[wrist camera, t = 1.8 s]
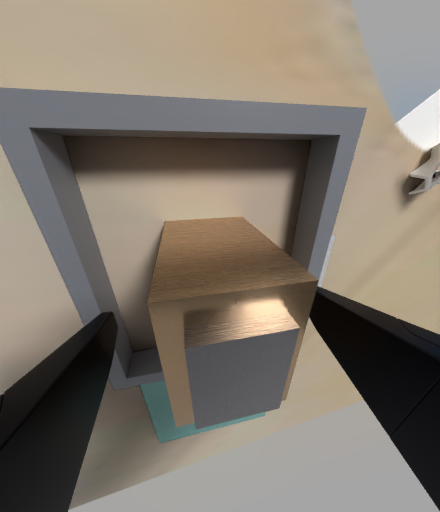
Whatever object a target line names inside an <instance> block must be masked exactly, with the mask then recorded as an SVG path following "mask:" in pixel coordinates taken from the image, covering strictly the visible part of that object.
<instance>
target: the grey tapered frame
mask: <svg viewBox="0 0 440 512" xmlns="http://www.w3.org/2000/svg"><path fill="white" fill-rule="evenodd" d="M366 109H367V108H358V107H340V106H322V105H304V104H286V103H268V102H250V101H232V100H214V99H196V98H178V97H160V96H142V95H124V94H106V93H88V92H70V91H52V90H34V89H16V88H0V143H1V145H2V147H3V150H4V152H5V154H6V156H7V158H8V160H9V163H10V165H11V167H12V169H13V171H14V174H15V176H16V178H17V180H18V182H19V184H20V187H21V189H22V191H23V193H24V195H25V197H26V200H27V202H28V204H29V206H30V208H31V211H32V213H33V215H34V217H35V219H36V221H37V224H38V226H39V228H40V230H41V232H42V234H43V237H44V239H45V241H46V243H47V245H48V248H49V250H50V252H51V254H52V256H53V258H54V261H55V263H56V265H57V267H58V269H59V271H60V274H61V276H62V278H63V280H64V282H65V285H66V287H67V289H68V291H69V293H70V295H71V298H72V300H73V302H74V304H75V306H76V308H77V311H78V313H79V315H80V317H81V319H82V322H83V324H84V326H86V325H87V324H88V323H89V322H90V321H92V320H93V319H94V318H95V317H97V316H98V315H99V314H100V313H102V312H108V311H112V312H113V313H114V315H115V318H116V321H117V324H118V334H117V339H116V345H115V350H114V355H113V361H112V366H111V369H110V373H109V376H108V378H109V380H110V383H111V385H112V387H113V389H114V391H115V390H120V389H125V388H129V387H134V386H139V385H144V384H149V383H154V382H158V381H163V380H165V378H164V374H163V369H162V365H161V361H160V357H159V352H158V348H154V349H148V350H143V351H137V352H133V351H132V348H131V345H130V342H129V339H128V336H127V333H126V330H125V327H124V324H123V321H122V318H121V315H120V312H119V309H118V305H117V302H116V299H115V296H114V293H113V290H112V287H111V284H110V281H109V278H108V275H107V272H106V269H105V266H104V263H103V260H102V257H101V254H100V250H99V247H98V244H97V241H96V238H95V235H94V232H93V229H92V226H91V223H90V220H89V217H88V214H87V211H86V208H85V205H84V202H83V199H82V195H81V192H80V189H79V186H78V183H77V180H76V177H75V174H74V171H73V168H72V165H71V162H70V159H69V156H68V153H67V150H66V147H65V144H64V140H63V137H62V136H115V137H171V138H227V139H283V140H312V142H311V148H310V153H309V159H308V164H307V169H306V175H305V180H304V186H303V191H302V197H301V202H300V208H299V213H298V218H297V224H296V229H295V235H294V240H293V246H292V251H291V258H293V259H294V260H295V261H296V262H297V263H299V264H300V265H301V266H302V267H304V268H305V269H306V270H307V271H308V272H310V273H311V274H312V275H313V276H314V277H316V278H317V279H318V280H319V282H318V287H321V285H322V281H323V278H324V275H325V271H326V268H327V264H328V261H329V257H330V254H331V250H332V247H333V243H334V240H335V237H336V235H334V234H332V231H333V228H334V224H335V221H336V217H337V213H338V210H339V206H340V203H341V199H342V196H343V192H344V188H345V185H346V181H347V178H348V174H349V170H350V167H351V163H352V160H353V156H354V152H355V149H356V145H357V142H358V138H359V134H360V131H361V127H362V124H363V120H364V116H365V113H366Z"/></svg>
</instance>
